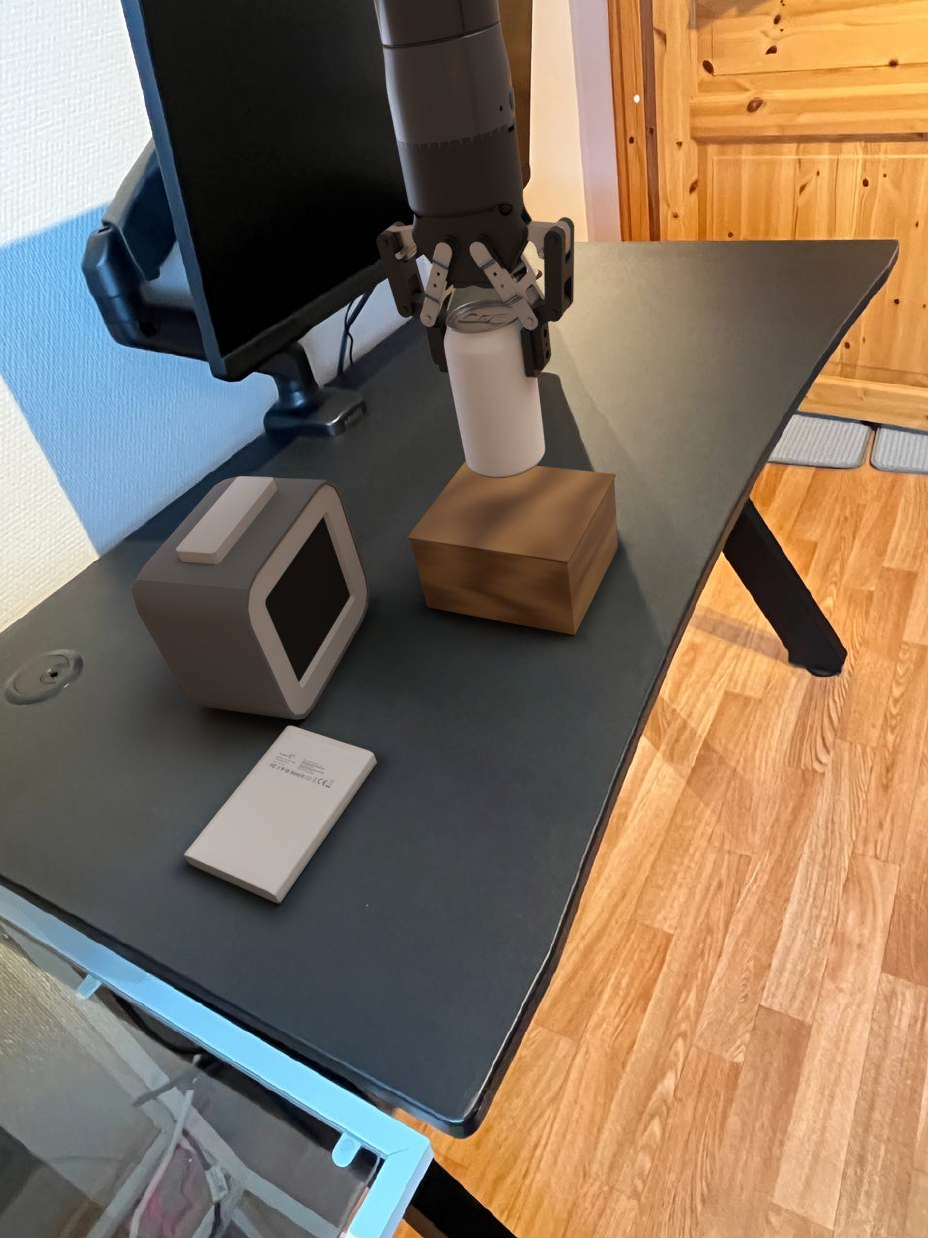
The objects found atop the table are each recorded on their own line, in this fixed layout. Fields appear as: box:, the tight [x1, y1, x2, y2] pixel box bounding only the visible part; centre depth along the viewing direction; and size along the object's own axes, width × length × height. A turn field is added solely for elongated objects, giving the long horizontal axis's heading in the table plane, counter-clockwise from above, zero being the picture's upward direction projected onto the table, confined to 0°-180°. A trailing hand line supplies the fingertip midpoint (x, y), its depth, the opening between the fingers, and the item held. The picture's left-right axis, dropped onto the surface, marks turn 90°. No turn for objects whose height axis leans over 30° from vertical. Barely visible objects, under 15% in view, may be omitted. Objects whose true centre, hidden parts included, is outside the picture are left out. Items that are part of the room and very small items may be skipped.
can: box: [444, 297, 546, 478], centre depth 64 cm, size 6×6×12 cm
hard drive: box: [183, 725, 378, 904], centre depth 61 cm, size 2×8×12 cm
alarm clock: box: [131, 475, 371, 721], centre depth 69 cm, size 16×11×16 cm
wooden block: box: [406, 460, 619, 636], centre depth 74 cm, size 14×12×8 cm
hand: (492, 369), depth 63 cm, fingers closed on can, 6 cm apart
